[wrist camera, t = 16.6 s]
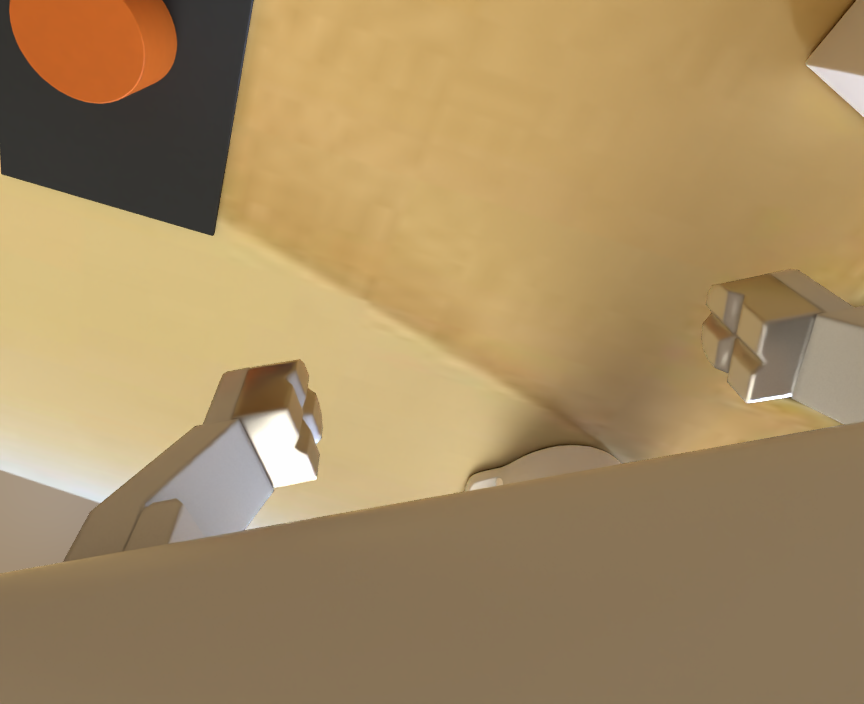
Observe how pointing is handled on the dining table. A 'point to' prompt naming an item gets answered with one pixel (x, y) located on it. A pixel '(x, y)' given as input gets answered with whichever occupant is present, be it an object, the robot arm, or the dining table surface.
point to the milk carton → (843, 57)
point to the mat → (134, 123)
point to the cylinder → (96, 44)
